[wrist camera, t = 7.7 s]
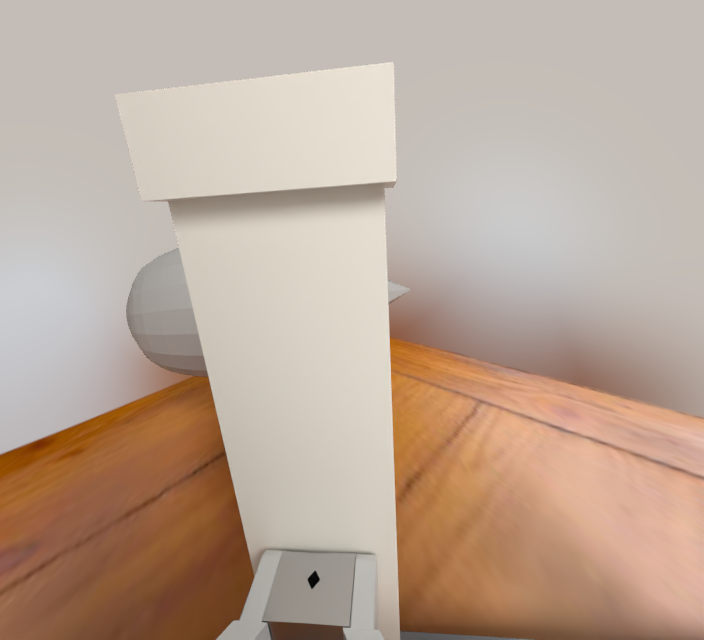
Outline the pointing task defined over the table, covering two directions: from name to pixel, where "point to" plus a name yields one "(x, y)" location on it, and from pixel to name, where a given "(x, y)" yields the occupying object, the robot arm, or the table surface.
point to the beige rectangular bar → (289, 294)
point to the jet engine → (175, 315)
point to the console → (446, 636)
